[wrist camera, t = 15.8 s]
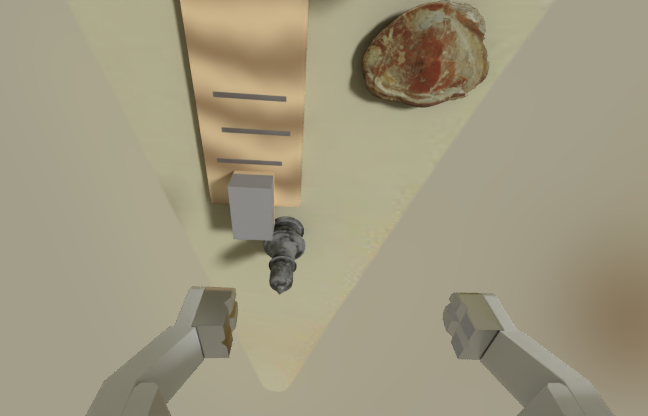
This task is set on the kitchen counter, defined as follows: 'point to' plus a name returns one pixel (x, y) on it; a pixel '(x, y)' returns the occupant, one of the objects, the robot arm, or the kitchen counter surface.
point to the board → (249, 89)
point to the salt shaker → (284, 252)
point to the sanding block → (252, 205)
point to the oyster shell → (428, 55)
